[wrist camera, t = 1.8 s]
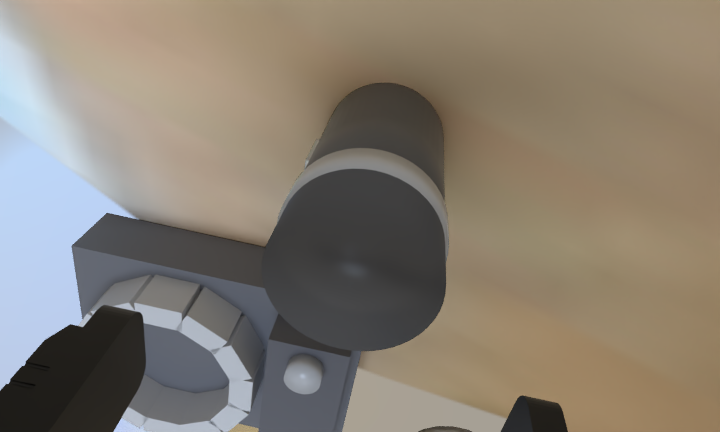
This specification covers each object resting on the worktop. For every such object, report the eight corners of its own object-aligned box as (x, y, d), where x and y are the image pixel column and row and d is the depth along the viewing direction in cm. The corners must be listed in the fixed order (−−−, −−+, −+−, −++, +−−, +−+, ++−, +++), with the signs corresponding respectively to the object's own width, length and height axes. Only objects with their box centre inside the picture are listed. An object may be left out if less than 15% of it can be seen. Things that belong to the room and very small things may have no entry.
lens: (460, 94, 21) (473, 223, 13) (429, 203, 24) (424, 370, 15) (333, 68, 21) (263, 178, 13) (317, 179, 24) (250, 331, 16)
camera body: (377, 271, 26) (362, 357, 21) (346, 401, 32) (329, 494, 27) (106, 213, 27) (31, 283, 22) (120, 351, 32) (62, 433, 27)
